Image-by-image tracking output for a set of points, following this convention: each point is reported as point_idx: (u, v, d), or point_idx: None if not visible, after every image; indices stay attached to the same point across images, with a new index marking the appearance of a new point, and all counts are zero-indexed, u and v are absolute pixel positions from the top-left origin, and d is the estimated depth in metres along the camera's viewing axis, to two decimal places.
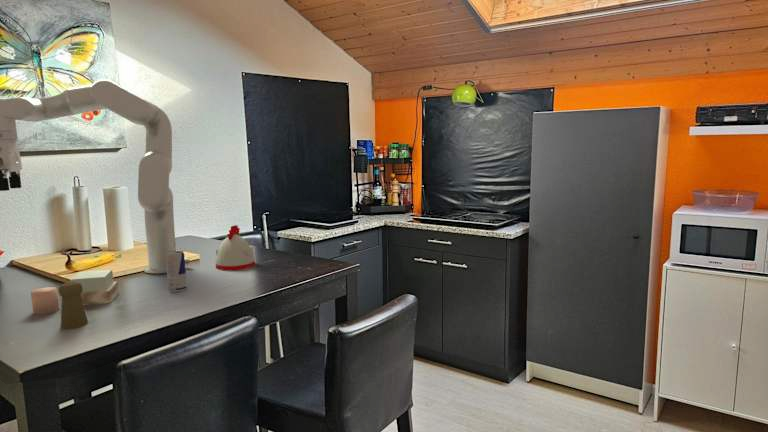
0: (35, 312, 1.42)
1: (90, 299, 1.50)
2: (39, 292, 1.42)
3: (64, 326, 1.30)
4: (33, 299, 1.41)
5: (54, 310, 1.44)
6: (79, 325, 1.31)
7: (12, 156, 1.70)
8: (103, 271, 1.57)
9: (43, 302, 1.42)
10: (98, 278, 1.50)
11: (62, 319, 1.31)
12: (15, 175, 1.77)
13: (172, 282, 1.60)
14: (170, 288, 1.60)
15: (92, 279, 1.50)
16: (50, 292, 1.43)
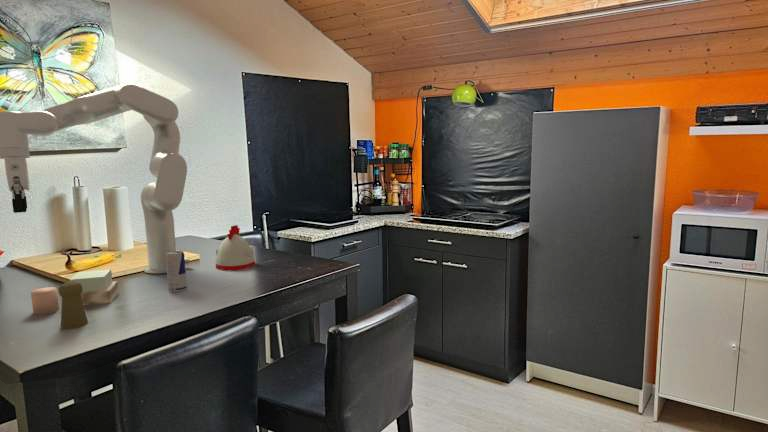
0: (35, 312, 1.42)
1: (91, 299, 1.50)
2: (39, 292, 1.42)
3: (64, 326, 1.30)
4: (33, 299, 1.41)
5: (54, 310, 1.44)
6: (79, 325, 1.31)
7: (27, 175, 1.56)
8: (102, 271, 1.57)
9: (43, 302, 1.42)
10: (97, 278, 1.50)
11: (62, 319, 1.31)
12: (21, 195, 1.62)
13: (172, 282, 1.60)
14: (170, 288, 1.60)
15: (91, 279, 1.50)
16: (50, 292, 1.43)
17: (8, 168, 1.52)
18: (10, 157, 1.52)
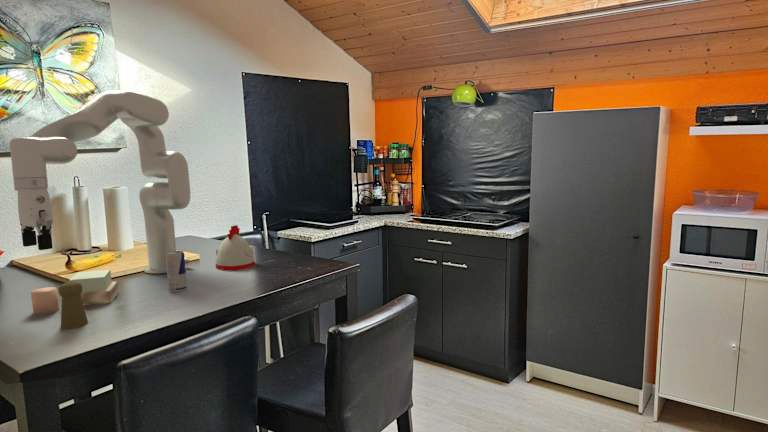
0: (35, 312, 1.42)
1: (91, 299, 1.50)
2: (39, 292, 1.42)
3: (64, 326, 1.30)
4: (33, 299, 1.41)
5: (54, 310, 1.44)
6: (79, 325, 1.31)
7: None
8: (101, 271, 1.57)
9: (43, 302, 1.42)
10: (97, 278, 1.50)
11: (62, 319, 1.31)
12: (30, 230, 1.44)
13: (172, 282, 1.60)
14: (170, 288, 1.60)
15: (91, 279, 1.50)
16: (50, 292, 1.43)
17: (33, 201, 1.36)
18: (33, 189, 1.37)
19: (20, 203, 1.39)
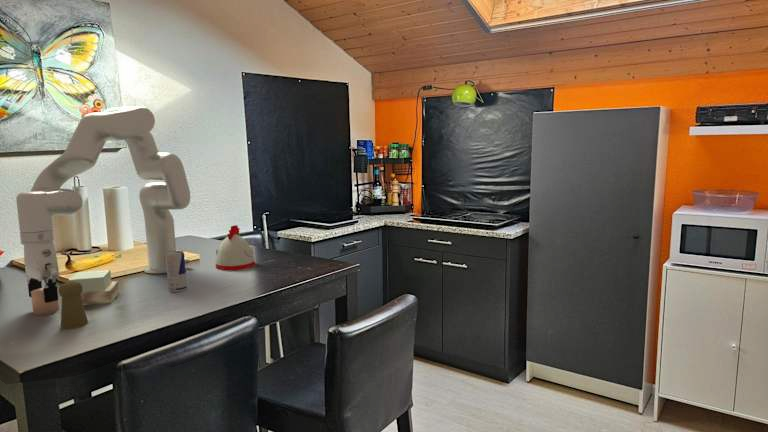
0: (35, 312, 1.42)
1: (91, 298, 1.50)
2: (39, 292, 1.42)
3: (64, 326, 1.30)
4: (33, 299, 1.41)
5: (54, 310, 1.44)
6: (79, 325, 1.31)
7: None
8: (101, 271, 1.57)
9: (43, 302, 1.42)
10: (97, 278, 1.50)
11: (62, 319, 1.31)
12: (36, 280, 1.46)
13: (172, 282, 1.60)
14: (170, 288, 1.60)
15: (91, 279, 1.50)
16: None
17: (39, 255, 1.38)
18: (39, 243, 1.39)
19: (26, 256, 1.41)
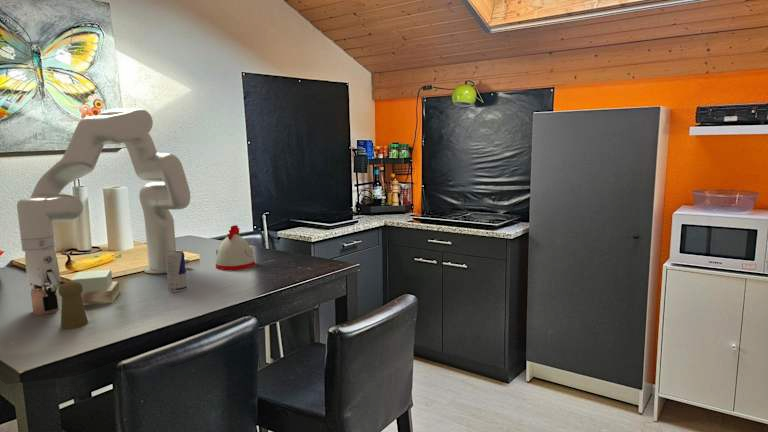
0: (35, 312, 1.42)
1: (92, 298, 1.50)
2: (39, 292, 1.42)
3: (64, 326, 1.30)
4: (33, 299, 1.41)
5: (54, 310, 1.44)
6: (79, 325, 1.31)
7: None
8: (102, 271, 1.57)
9: None
10: (99, 278, 1.51)
11: (62, 319, 1.31)
12: None
13: (172, 282, 1.60)
14: (170, 288, 1.60)
15: (93, 279, 1.50)
16: None
17: (40, 262, 1.39)
18: (40, 249, 1.39)
19: (28, 262, 1.42)
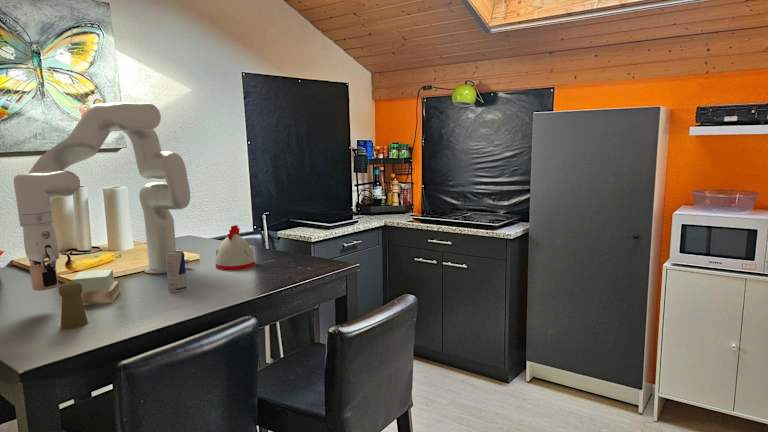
0: (34, 288, 1.42)
1: (92, 298, 1.50)
2: (38, 268, 1.41)
3: (64, 326, 1.30)
4: (32, 275, 1.41)
5: (53, 286, 1.43)
6: (79, 325, 1.31)
7: None
8: (104, 271, 1.58)
9: (42, 278, 1.41)
10: (101, 277, 1.51)
11: (62, 319, 1.31)
12: None
13: (172, 282, 1.60)
14: (170, 288, 1.60)
15: (95, 278, 1.51)
16: None
17: (39, 237, 1.38)
18: (38, 224, 1.39)
19: (26, 238, 1.41)
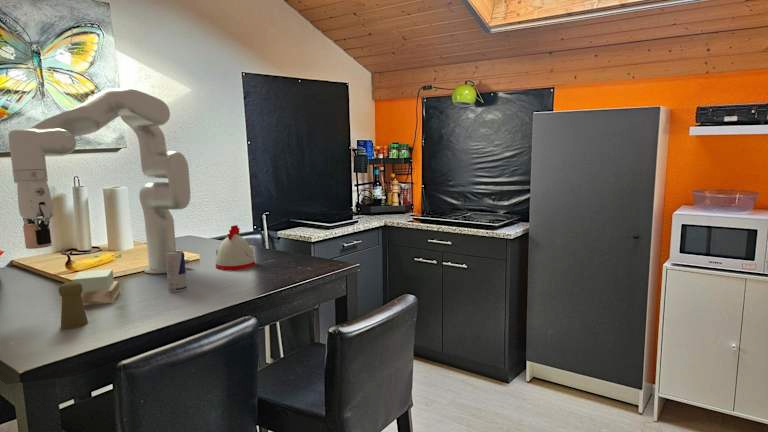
0: (27, 246, 1.39)
1: (93, 298, 1.50)
2: (31, 226, 1.39)
3: (64, 326, 1.30)
4: (25, 233, 1.39)
5: (47, 245, 1.41)
6: (79, 325, 1.31)
7: None
8: (104, 271, 1.57)
9: None
10: (101, 277, 1.51)
11: (62, 319, 1.31)
12: None
13: (172, 282, 1.60)
14: (170, 288, 1.60)
15: (94, 278, 1.50)
16: None
17: (33, 193, 1.36)
18: (33, 181, 1.37)
19: (20, 195, 1.39)
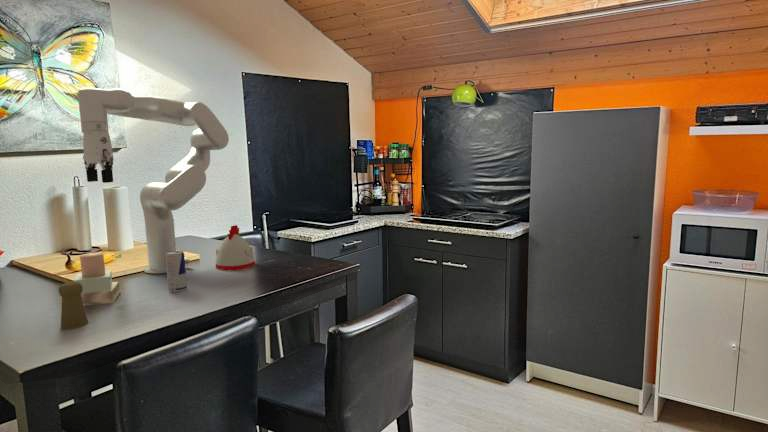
0: (83, 275, 1.51)
1: (93, 299, 1.49)
2: (86, 256, 1.50)
3: (64, 326, 1.30)
4: (81, 263, 1.50)
5: (100, 274, 1.52)
6: (79, 325, 1.31)
7: None
8: None
9: (90, 266, 1.50)
10: (103, 278, 1.50)
11: (62, 319, 1.31)
12: (93, 168, 1.72)
13: (172, 282, 1.60)
14: (170, 288, 1.60)
15: (97, 279, 1.50)
16: (96, 257, 1.51)
17: (98, 141, 1.63)
18: (98, 131, 1.64)
19: (86, 144, 1.66)
